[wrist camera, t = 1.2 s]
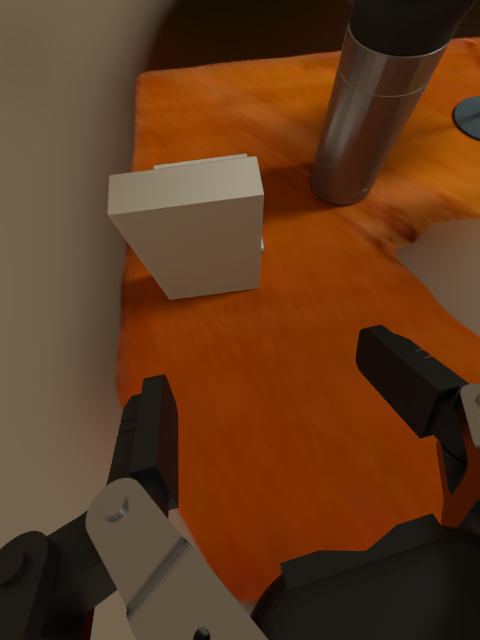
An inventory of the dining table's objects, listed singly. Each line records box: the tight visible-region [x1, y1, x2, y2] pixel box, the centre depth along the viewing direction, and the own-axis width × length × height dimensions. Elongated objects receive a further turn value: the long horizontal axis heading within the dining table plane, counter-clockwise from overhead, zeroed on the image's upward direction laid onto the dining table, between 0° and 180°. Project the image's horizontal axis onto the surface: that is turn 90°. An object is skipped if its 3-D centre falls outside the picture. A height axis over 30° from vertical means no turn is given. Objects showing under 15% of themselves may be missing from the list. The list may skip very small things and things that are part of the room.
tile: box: [108, 156, 264, 300], centre depth 28 cm, size 4×12×16 cm, turn 97°
